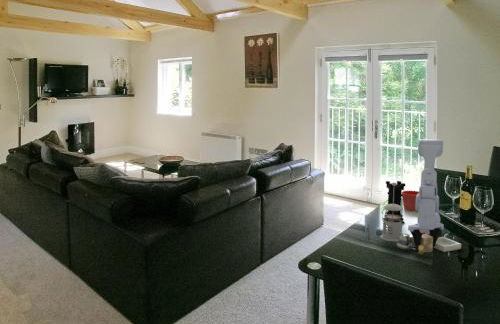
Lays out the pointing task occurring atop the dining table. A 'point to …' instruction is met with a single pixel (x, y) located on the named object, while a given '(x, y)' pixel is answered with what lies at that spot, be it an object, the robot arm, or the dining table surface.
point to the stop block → (426, 242)
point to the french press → (392, 222)
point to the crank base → (410, 247)
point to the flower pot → (409, 200)
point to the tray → (446, 244)
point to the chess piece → (395, 197)
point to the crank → (407, 238)
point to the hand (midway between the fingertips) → (424, 246)
